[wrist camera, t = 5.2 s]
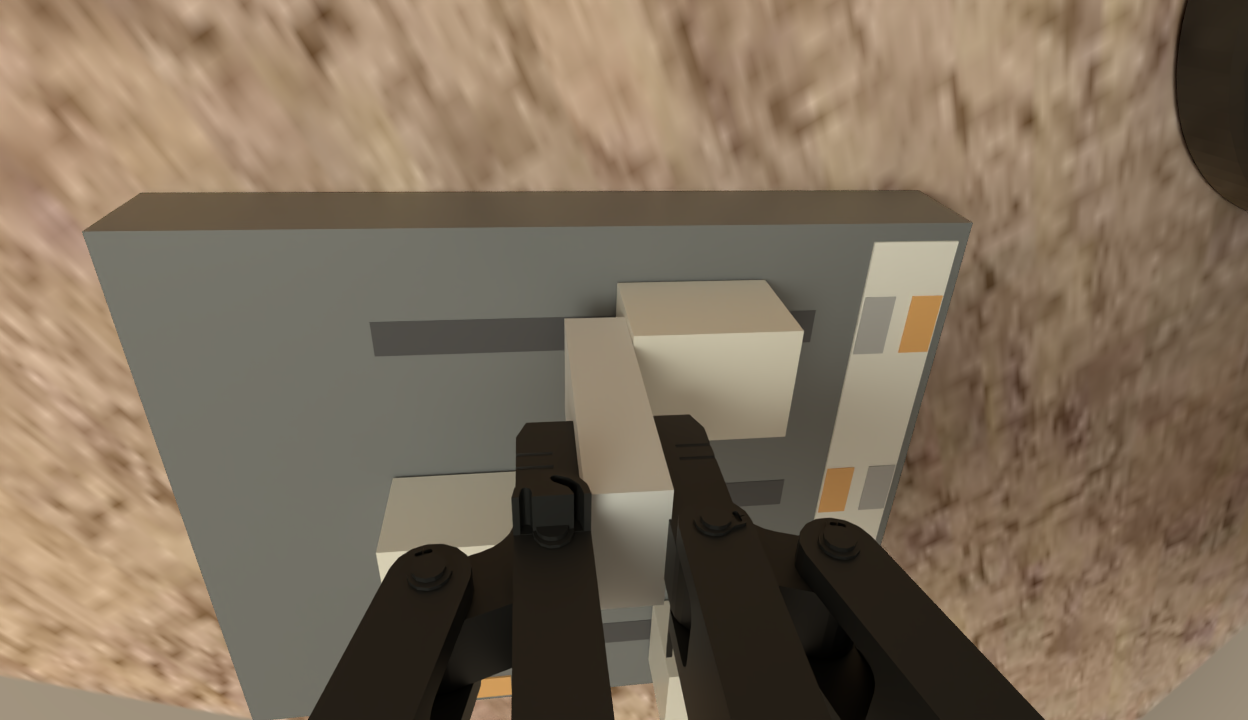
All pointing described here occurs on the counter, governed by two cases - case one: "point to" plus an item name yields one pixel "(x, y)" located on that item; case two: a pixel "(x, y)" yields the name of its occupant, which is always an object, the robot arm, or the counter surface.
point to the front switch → (715, 353)
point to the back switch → (664, 668)
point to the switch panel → (479, 370)
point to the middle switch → (446, 514)
